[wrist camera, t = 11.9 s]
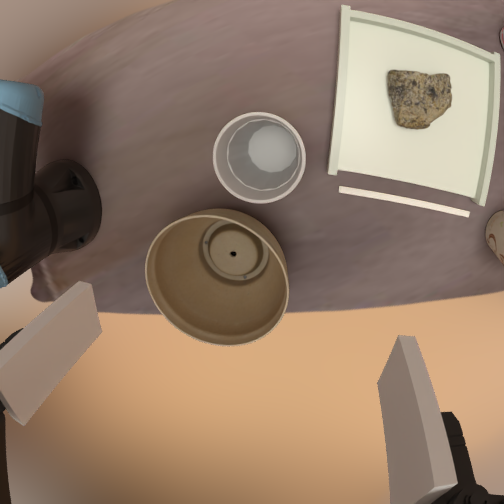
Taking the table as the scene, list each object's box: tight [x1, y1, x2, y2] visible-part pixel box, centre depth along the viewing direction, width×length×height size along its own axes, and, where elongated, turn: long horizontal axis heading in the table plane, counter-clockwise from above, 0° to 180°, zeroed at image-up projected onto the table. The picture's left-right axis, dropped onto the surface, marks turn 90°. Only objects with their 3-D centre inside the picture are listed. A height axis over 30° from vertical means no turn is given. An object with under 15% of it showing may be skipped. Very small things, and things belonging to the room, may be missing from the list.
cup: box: [213, 112, 306, 203], centre depth 31 cm, size 8×8×12 cm
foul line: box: [339, 186, 470, 217], centre depth 35 cm, size 19×1×1 cm, turn 86°
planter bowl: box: [145, 208, 289, 346], centre depth 38 cm, size 16×16×11 cm
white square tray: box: [327, 5, 500, 206], centre depth 29 cm, size 22×21×2 cm
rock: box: [388, 70, 452, 130], centre depth 28 cm, size 7×8×4 cm
